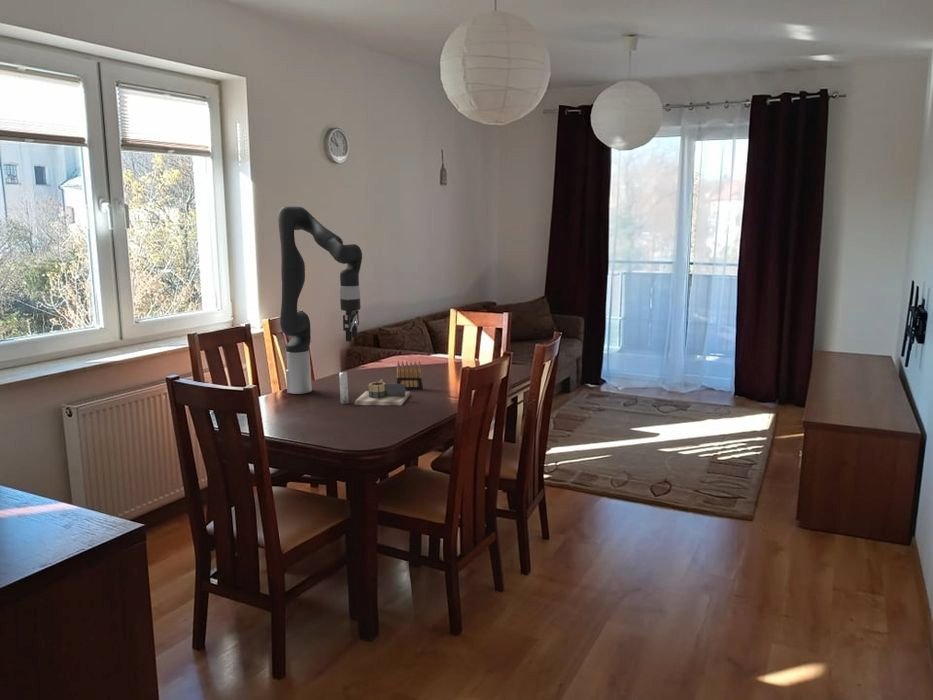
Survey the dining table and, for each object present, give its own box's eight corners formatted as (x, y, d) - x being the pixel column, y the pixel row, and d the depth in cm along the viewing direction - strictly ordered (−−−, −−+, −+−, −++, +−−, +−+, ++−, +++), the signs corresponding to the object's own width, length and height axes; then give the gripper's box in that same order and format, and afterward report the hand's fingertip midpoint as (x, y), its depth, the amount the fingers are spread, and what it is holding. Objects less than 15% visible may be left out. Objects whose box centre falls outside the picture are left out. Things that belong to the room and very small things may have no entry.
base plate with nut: (355, 404, 280) (354, 388, 279) (366, 394, 296) (365, 378, 295) (401, 405, 278) (400, 388, 277) (409, 395, 293) (409, 379, 292)
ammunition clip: (396, 389, 303) (395, 361, 301) (397, 388, 305) (396, 360, 303) (422, 389, 302) (421, 361, 300) (423, 388, 304) (422, 360, 302)
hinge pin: (339, 403, 283) (338, 373, 280) (342, 401, 286) (340, 371, 283) (347, 403, 282) (345, 373, 280) (349, 401, 285) (347, 371, 283)
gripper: (345, 295, 286) (347, 336, 289) (335, 299, 272) (337, 342, 275) (364, 295, 285) (365, 336, 288) (355, 299, 271) (356, 342, 275)
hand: (351, 339), depth 282 cm, fingers open, 8 cm apart
